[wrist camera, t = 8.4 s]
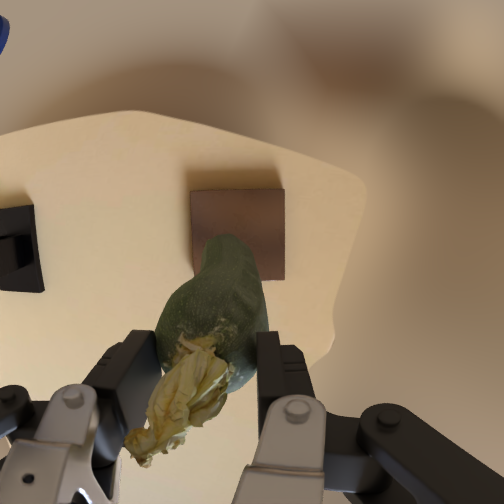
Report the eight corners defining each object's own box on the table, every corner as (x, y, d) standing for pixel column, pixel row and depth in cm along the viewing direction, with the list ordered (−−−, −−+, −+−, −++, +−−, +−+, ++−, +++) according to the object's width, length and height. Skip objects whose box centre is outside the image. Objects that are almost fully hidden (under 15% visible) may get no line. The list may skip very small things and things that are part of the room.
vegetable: (258, 227, 25) (300, 394, 5) (257, 281, 26) (282, 509, 6) (201, 227, 25) (72, 378, 5) (202, 280, 26) (120, 496, 6)
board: (192, 190, 35) (190, 191, 33) (283, 188, 35) (284, 188, 33) (196, 278, 37) (194, 281, 35) (283, 276, 37) (284, 280, 35)
